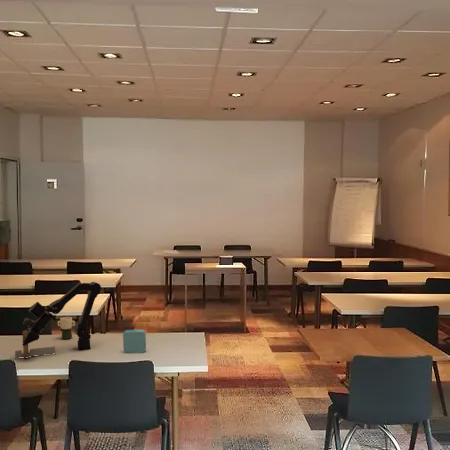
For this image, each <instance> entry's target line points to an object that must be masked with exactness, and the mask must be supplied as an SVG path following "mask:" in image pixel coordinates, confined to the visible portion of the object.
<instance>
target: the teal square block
mask: <svg viewBox="0 0 450 450" xmlns="http://www.w3.org/2000/svg"><path fill="white" fill-rule="evenodd" d="M122 339H123V340H122V341H123V344H122V347H123V353H125V354H131V353H132V354H133V353H134V354H136V353H137V354H138V353H144V352H145V351H146V349H147V337H146V331H145V330H144V329H126V330H124V332H123V333H122Z"/></svg>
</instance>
